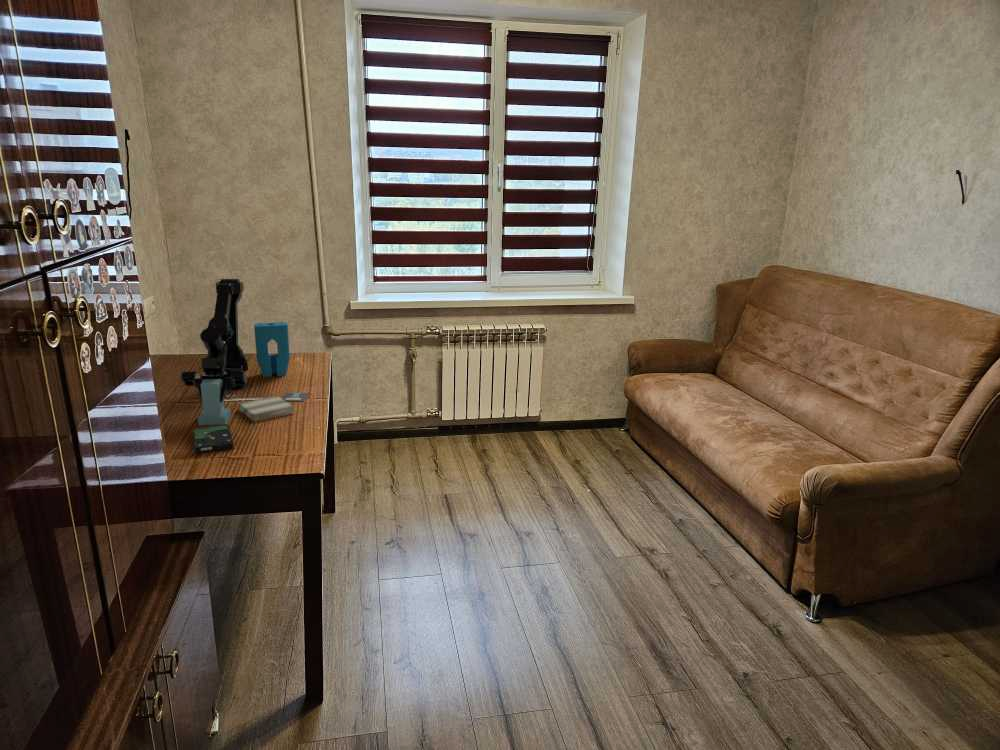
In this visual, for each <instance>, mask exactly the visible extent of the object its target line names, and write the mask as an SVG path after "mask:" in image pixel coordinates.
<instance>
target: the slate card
mask: <svg viewBox="0 0 1000 750" xmlns="http://www.w3.org/2000/svg"><path fill="white" fill-rule="evenodd" d="M309 395H310V393H309V392H308V393H307V392H286V393H284V395H283V397H281V399H283V400H284V401H286V402H287V403H289V402H293V403H296V402H299V403H301V402H303V403H304V402H305V400H306V399H307V398H308V396H309Z"/></svg>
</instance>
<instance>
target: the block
mask: <svg viewBox="0 0 1000 750" xmlns="http://www.w3.org/2000/svg"><path fill="white" fill-rule="evenodd" d="M253 327H254V328H253V329H254V339H255V340H254V341H255V352H256V353H255V354H256V362H257V364H258V367H259V369H260V372H261V375H262V377H264V378H268V377H270V378H271V377H272V376H273V375H275V374H277V377H282V376H286V375H287V373H288V368H289V363H290V360H291V359H290V358H291V357H290V355H291V354H290V341H289V339H290V338H289V324H288V322H287V321H283V322H281V321H279V322H262V323H261V322H259V323H257V322H256V323H254V324H253ZM271 340H272V341H274V342H275V343H276V344H277V345H276V347H277V348H276V349H277V353H269V345H268V343H270V341H271Z"/></svg>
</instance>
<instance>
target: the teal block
mask: <svg viewBox="0 0 1000 750" xmlns="http://www.w3.org/2000/svg"><path fill="white" fill-rule="evenodd" d="M222 384H223V382H222V380H221V379H204V380H203V382H202V383H201V384H200V385H201V394H202V401H201V403H202V410H201V412H200V414H199V415H198V417H197V423H198V426H220V425H227V424H228V423H227V422H228V421H229V419H230V417H231V416H232V415H231V414H232V413H231V408H230V407H225V406H224V400H223V401H222V402H220V395H221V390H222Z"/></svg>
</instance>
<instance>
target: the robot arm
mask: <svg viewBox="0 0 1000 750" xmlns="http://www.w3.org/2000/svg"><path fill="white" fill-rule="evenodd" d="M215 292H216V300H215V305H214V307H215V308H214V314H213V317H212V318H210V319H209V320H208V325H207V327H206V328H204V329H203V330H202V331H201V333H200V334H199V337H200V340H201V342H202V344H203V346H204V348H205V349H206V351H207V354H206V357H202V358H201V363H200V364H201V365H200V366H201V367H200V369H202V372H203V373H204V374H202V373H197V372H196V370H183V371H182V372H181V375H180V380H181V382H182V383H183V384H184V386H185V387H195V388H196V389H198V393H199V397H200V400H201V402H202V394H201V385H200V384H201V383H202V382H203V380H204V379H221V381H222V390H221V395H220V402H222V401H223V402H224V399H225V398H226V397H227V395H228V394H229V393H230V391H231V390H241V389H243V388H244V387H245V386H246V385H247V384H248V382H247V376H246V373H245V372H247V371H249V364H248V361H247V358H246V356H245V355H244V350H243V349H242V347H241V346H240V344H239V317H238V316H239V315H238V311H239V310H238V304H239V302H240V301H241V299H242V298H243V292H244V282H243V281H241V280H240V279H239V278H220V280H219V281H216V282H215Z"/></svg>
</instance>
